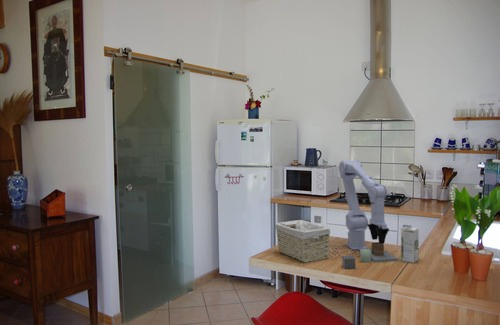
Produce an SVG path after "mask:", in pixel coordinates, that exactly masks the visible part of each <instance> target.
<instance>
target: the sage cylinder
mask: <svg viewBox="0 0 500 325" xmlns="http://www.w3.org/2000/svg"><path fill="white" fill-rule="evenodd" d="M370 249H371V248H368V249H361V250H360V252H359V253H360V254H359V255H360V256H359V257H360V262H361V263H364V264H368V263H369V264H370V263H372V260H371V250H370Z"/></svg>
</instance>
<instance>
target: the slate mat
mask: <svg viewBox="0 0 500 325" xmlns="http://www.w3.org/2000/svg"><path fill="white" fill-rule="evenodd" d="M369 249H370V250H371V262H374V263H383V262H394V261H395V262H397V261H399V258H398V257H396V256H395V255H394V254H391V253H389V252H388V251H386V250H385V249H384V255H379V256H375V255H374V254H372V248H369ZM360 250H361V249H358V252H359V253H360Z"/></svg>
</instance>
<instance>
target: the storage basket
mask: <svg viewBox="0 0 500 325" xmlns="http://www.w3.org/2000/svg"><path fill="white" fill-rule="evenodd" d="M292 227H293V228H292ZM275 230H276V235H277V236H276V237H277V246H278V251H279V252H280V253H281V252H282V253H281V254H284V253H285V254H284V255H286V256H288V255H289V257H290V256H291V257H290V258H292V257H293V258H292V259H294V258H296V259H295V260H297V259H298V261H300V262H301V263H310V262H309V261H311V262H315V261H321V260H325V259H328V258H329V254H330V253H329V252H330V251H329V250H330V234H331V228H330V227H328V226H326V225H323V224H318V223H316V222H311V221H309V220H304V219H297V220H290V221H289V220H287V221H282V222H277V223H275Z"/></svg>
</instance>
